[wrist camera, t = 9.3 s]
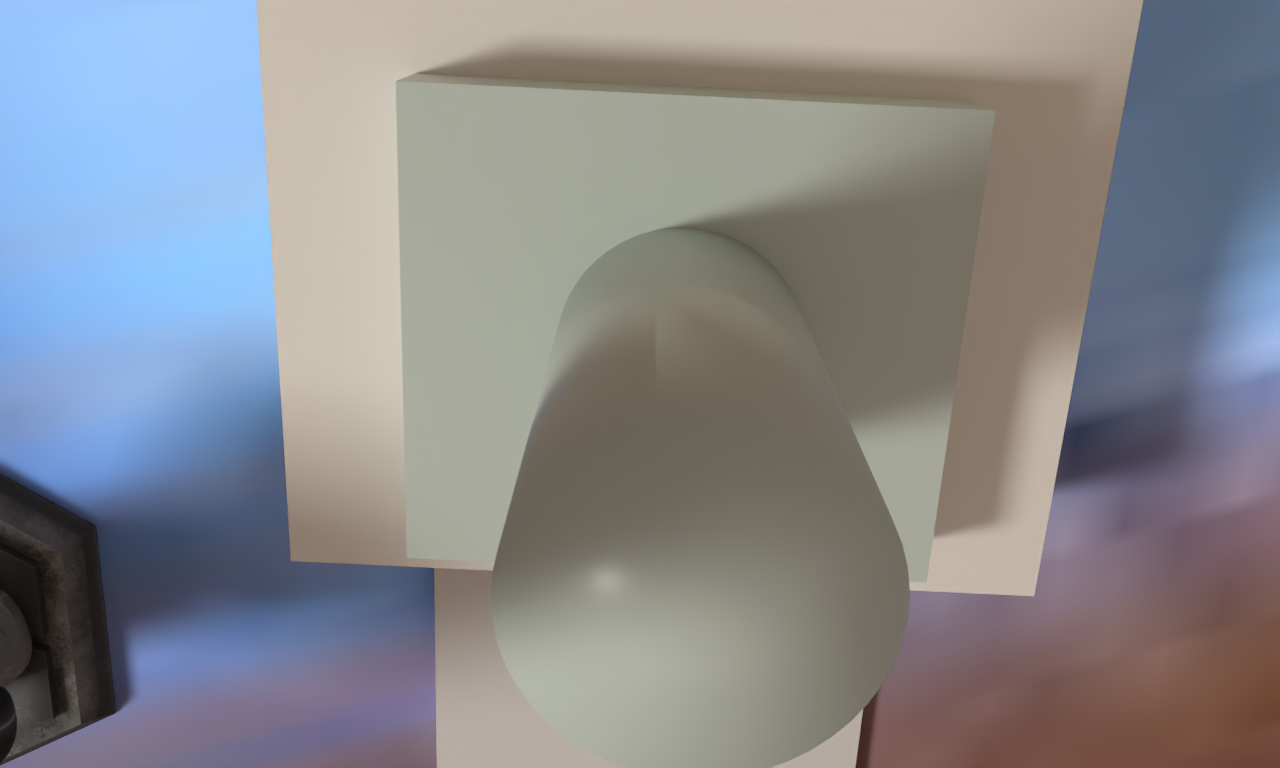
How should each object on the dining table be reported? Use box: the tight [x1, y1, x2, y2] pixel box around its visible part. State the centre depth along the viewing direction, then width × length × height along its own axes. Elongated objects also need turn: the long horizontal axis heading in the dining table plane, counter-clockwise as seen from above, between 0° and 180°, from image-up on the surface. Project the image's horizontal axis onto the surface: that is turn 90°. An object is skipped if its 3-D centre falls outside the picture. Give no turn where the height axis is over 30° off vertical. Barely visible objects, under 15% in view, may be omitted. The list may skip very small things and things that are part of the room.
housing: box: [257, 0, 1143, 596], centre depth 20 cm, size 19×14×4 cm
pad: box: [434, 568, 863, 768], centre depth 27 cm, size 8×10×1 cm
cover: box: [396, 73, 996, 768], centre depth 15 cm, size 8×9×10 cm
